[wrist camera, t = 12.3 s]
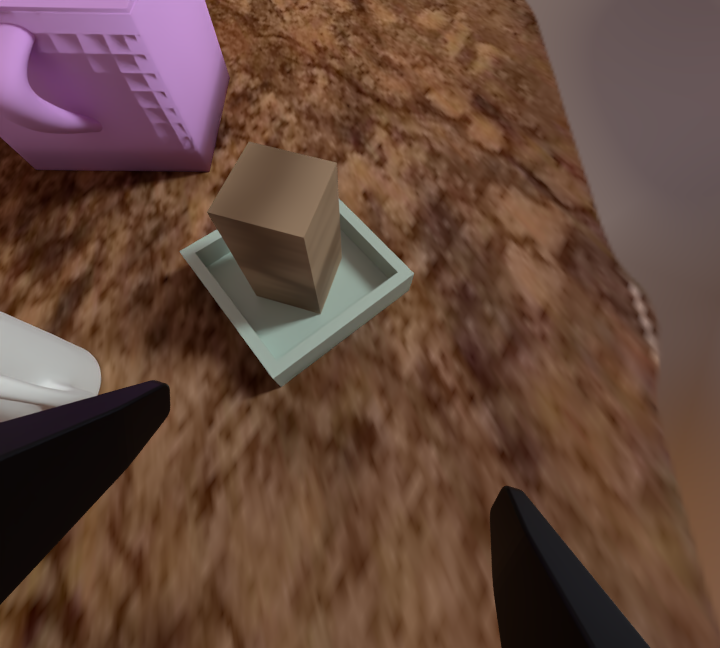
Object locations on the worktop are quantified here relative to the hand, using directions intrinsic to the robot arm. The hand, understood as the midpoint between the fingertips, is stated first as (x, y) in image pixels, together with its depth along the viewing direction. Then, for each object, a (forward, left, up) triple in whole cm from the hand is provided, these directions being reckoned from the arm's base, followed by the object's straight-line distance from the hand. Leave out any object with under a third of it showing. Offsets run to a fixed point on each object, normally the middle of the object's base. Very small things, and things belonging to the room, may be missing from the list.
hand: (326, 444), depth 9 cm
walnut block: (+12, -5, -13) cm, 18 cm away
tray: (+12, -5, -14) cm, 19 cm away
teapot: (+37, -4, -14) cm, 39 cm away
